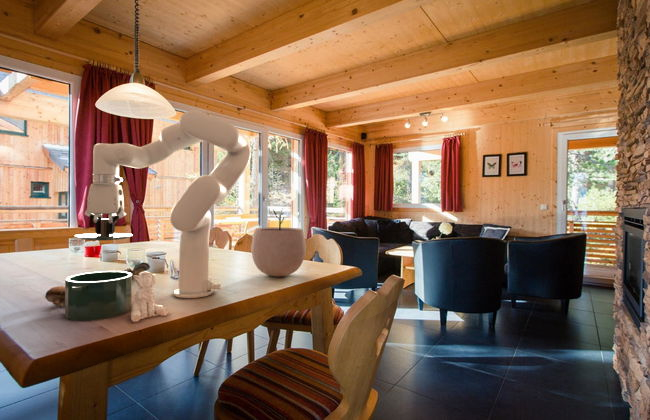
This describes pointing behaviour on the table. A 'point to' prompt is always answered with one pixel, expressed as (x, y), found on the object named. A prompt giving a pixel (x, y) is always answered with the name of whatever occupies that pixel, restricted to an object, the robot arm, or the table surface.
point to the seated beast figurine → (145, 299)
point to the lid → (103, 233)
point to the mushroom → (56, 295)
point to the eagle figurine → (138, 269)
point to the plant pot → (278, 249)
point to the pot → (98, 295)
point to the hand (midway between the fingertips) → (104, 234)
